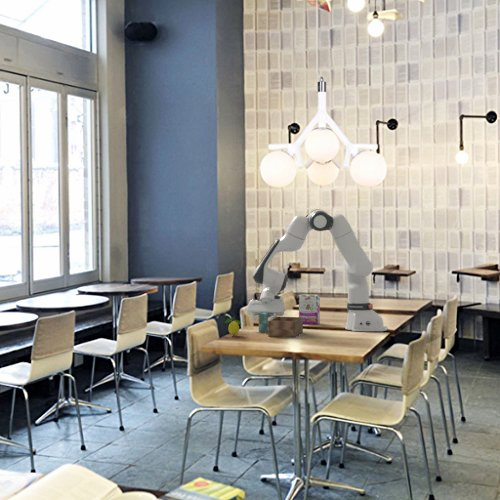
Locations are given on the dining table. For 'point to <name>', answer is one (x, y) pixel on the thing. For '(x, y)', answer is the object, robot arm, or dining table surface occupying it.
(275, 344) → the dining table surface
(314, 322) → the candy bar box
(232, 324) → the lemon
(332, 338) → the dining table surface
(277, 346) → the dining table surface
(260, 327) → the peg
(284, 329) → the walnut box
